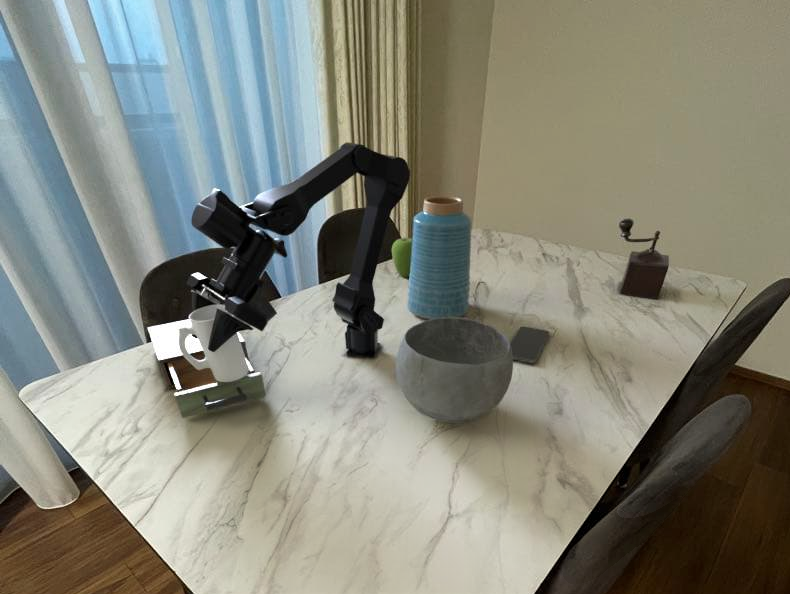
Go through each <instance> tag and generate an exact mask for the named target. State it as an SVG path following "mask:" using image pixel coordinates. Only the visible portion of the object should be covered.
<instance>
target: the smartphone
mask: <svg viewBox="0 0 790 594" xmlns="http://www.w3.org/2000/svg"><path fill="white" fill-rule="evenodd" d="M549 335H550V331H549V330H546V329H540V328H535V327H530V326H524V325H522V326H519V327H518V329H517V331H516V333H515V334H514V336H513V337H512V339H511V341H510V345H511V350H512V355H513V361H517V362H522V363H527V364H535V363H537V360H538V358H539V356H540V354H541V352H542V349H543V348H544V345H545V344H546V341H547V340H548V339H549V338H548V337H549Z"/></svg>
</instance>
